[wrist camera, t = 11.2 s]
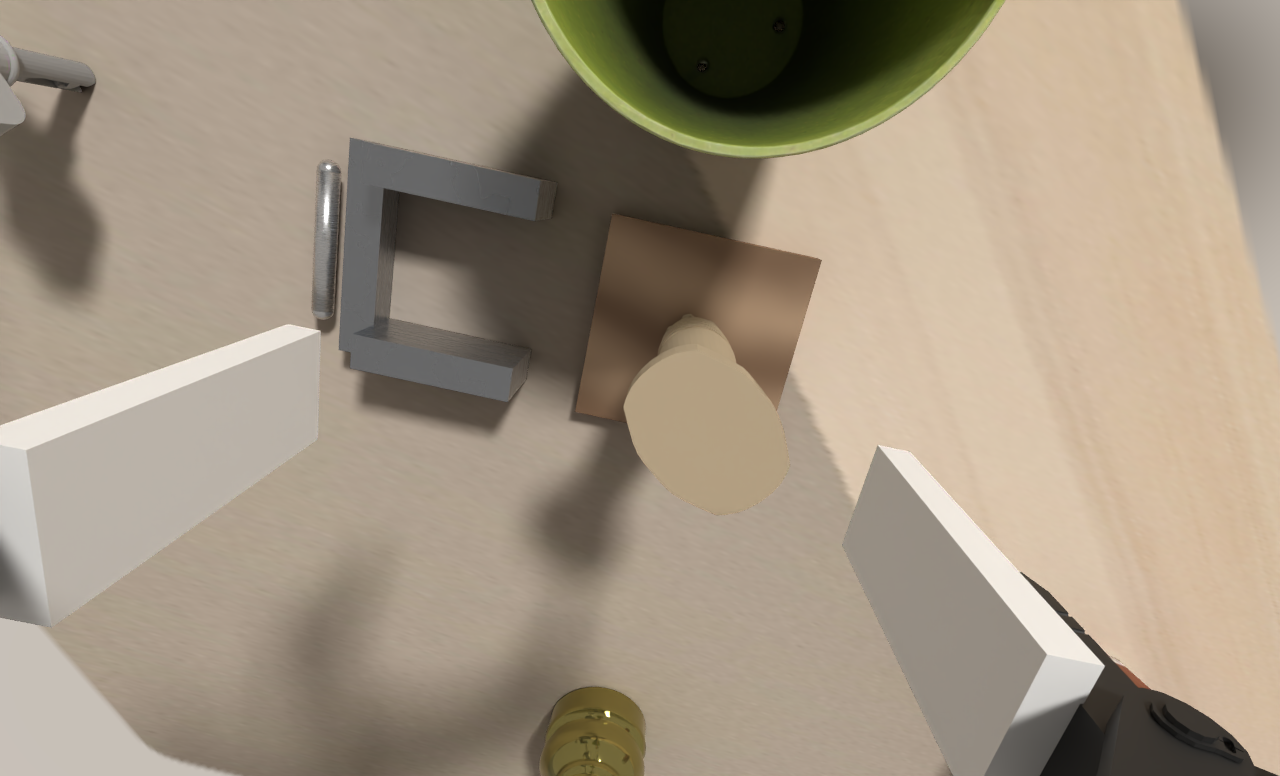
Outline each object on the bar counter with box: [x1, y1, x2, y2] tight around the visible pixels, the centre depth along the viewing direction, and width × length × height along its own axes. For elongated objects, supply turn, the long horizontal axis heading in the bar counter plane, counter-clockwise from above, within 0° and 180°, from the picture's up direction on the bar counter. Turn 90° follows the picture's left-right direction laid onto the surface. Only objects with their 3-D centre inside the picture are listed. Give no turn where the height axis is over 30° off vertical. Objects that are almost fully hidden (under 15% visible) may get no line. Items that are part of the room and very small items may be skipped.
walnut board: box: [575, 214, 822, 423], centre depth 36 cm, size 12×12×1 cm
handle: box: [623, 314, 790, 515], centre depth 28 cm, size 5×6×15 cm
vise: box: [312, 138, 557, 402], centre depth 34 cm, size 12×13×4 cm
